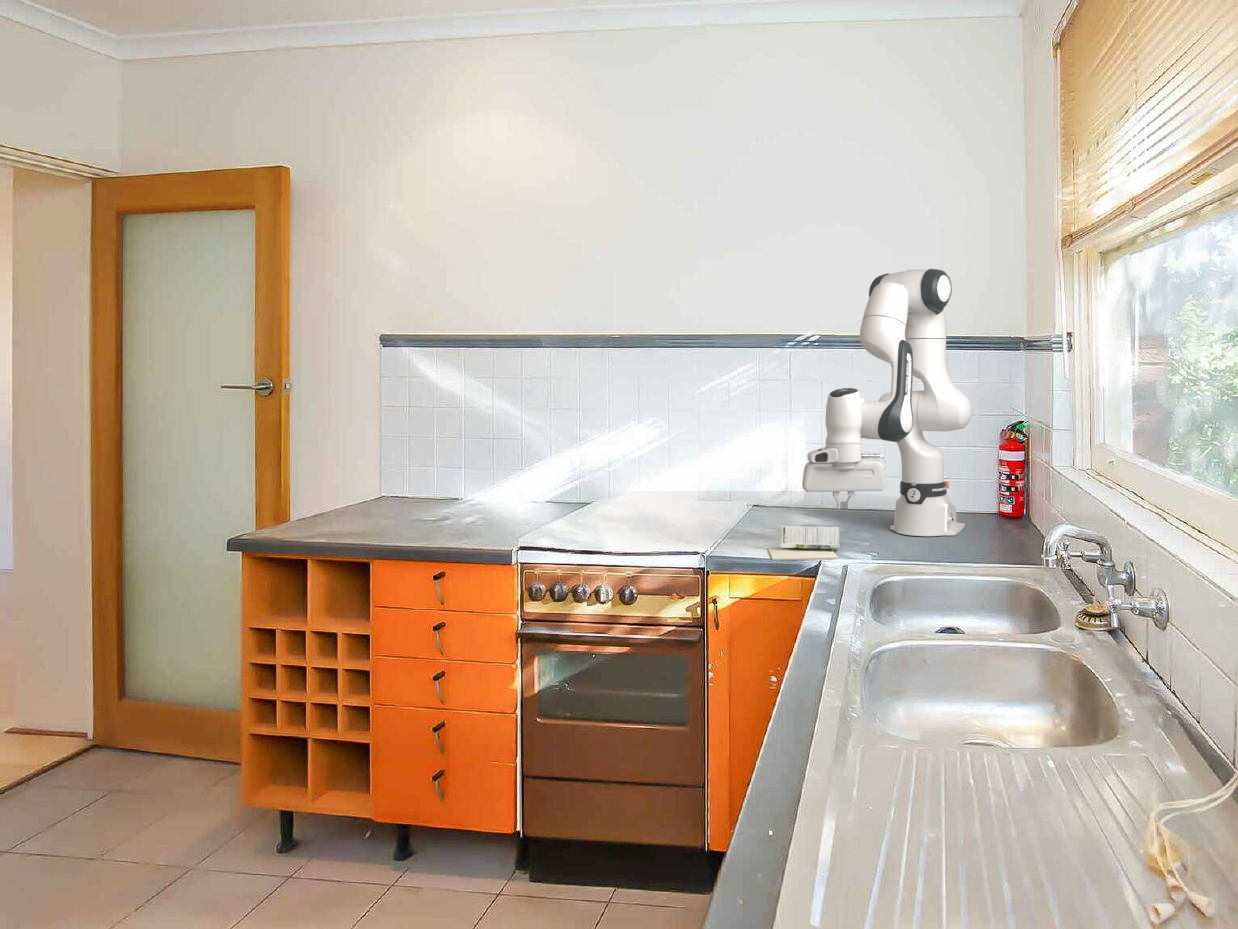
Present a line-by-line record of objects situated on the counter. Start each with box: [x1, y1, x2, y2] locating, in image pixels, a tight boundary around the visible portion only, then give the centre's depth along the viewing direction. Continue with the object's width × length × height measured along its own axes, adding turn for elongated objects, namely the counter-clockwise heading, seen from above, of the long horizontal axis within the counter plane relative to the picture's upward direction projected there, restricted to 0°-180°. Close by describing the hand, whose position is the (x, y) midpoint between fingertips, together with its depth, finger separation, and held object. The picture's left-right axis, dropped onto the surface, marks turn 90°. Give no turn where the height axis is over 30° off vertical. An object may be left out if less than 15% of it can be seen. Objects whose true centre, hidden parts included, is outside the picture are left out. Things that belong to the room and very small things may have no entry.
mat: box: [767, 546, 839, 561], centre depth 267 cm, size 16×14×1 cm
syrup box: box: [779, 524, 840, 550], centre depth 271 cm, size 6×6×14 cm
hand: (843, 509), depth 265 cm, fingers closed
